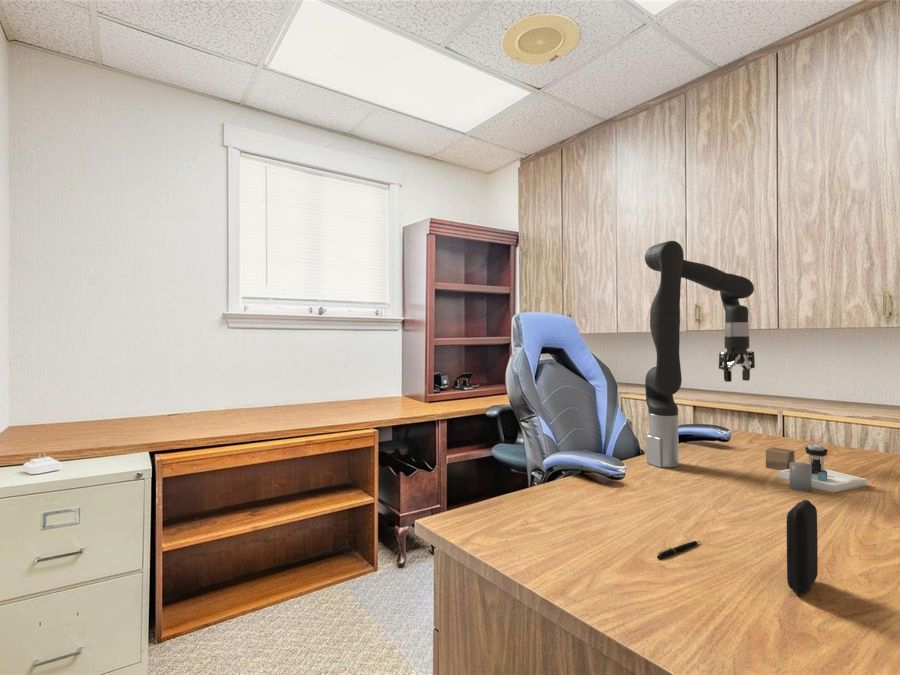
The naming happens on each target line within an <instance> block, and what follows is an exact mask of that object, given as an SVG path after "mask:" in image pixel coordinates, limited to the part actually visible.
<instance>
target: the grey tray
mask: <svg viewBox="0 0 900 675" xmlns="http://www.w3.org/2000/svg"><path fill="white" fill-rule="evenodd" d="M824 469H825V471H827V475H828V476H833V477H827V479H832V480H826V481H820V480H814V479H812V488H814V489H818V490H821V491H824V492H828V493H832V494H834V493H838V492H843V491H849V490H854V489H859V488H860V489H861V488H864V487H867V486H868V484H867V483H868V478H863V477H860V476H855V475H852V474H847V473H844V472H839V471H835V470H831V469H827V468H824ZM777 478H779V479H782V480H785V481H789V482H790V470H789V469H786V470H777ZM833 480H834V481H833Z"/></svg>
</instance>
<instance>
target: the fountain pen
mask: <svg viewBox="0 0 900 675" xmlns="http://www.w3.org/2000/svg"><path fill="white" fill-rule="evenodd" d="M700 542H701V540H693V541H691V542H687V543H684V544H679V545H678V546H675V547H670V546H669V547H667V548H665V549H663V550H660V551H659V552H658V553H657V556H656V558H657V559H658V560H663V559H666V558H669V557H672V556H674V555H677V554H678V553H681V552H683V551H686V550H687V549H691V548H692V547H694V546H696V545H698V544H699V543H700Z"/></svg>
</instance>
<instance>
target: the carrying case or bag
mask: <svg viewBox="0 0 900 675" xmlns="http://www.w3.org/2000/svg"><path fill="white" fill-rule="evenodd" d="M818 551H819V550H818V511H817V507H816V506H815V505H814V504H812V502H811V501H810V500H807V499H803V500H801V501H799V502H797V503H796V504H795V505H794V506H793V507H792V508H790V510H789V511H788V512H787V514H786V580H787V581H786V582H787V585H788V588H790V590H792V592H793V593H794V594H796V595H798V596H799V595H800V596H801V595H802V594H805V593H807V592H809V590H810V589H811V588H812V585H813V584H814V582H816V580H817V577H818V574H819V573H818V571H819V569H818V566H819V565H818V564H819V563H818V562H819V561H818V560H819V559H818V557H819V556H818Z"/></svg>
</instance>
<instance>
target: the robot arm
mask: <svg viewBox="0 0 900 675" xmlns="http://www.w3.org/2000/svg"><path fill="white" fill-rule="evenodd" d="M684 256H685V255H684V250H683V246H682V244H680V243H679V242H678V241H675V240H669V241H663V242H660V243H657V244H655V245H652V246H651V247H649V248H648V249H647V250H646V252H645V254H644V262H645V264H646V265H647V267H649V269H650V270H652V271H656V272H660V281H659V286H658V289H657V292H656V294H655V295H654V298H653V300H652V303H651V305H650V310H649V328H650V333H651V337H652V340H653V343H654V346H655V351H656V366H653V367H652V368H650V369H649V370H648V371H647V373H646V375H645V380H644V381H645V382H644V383H645V384H644V386H645V402H646V406H647V409H648V410H647V411H648V412H647V413H648V435H645V436H646V437H645V438H646V439H645V441H646V444H645V445H646V463H647V464H648V465H652V466H655V467H658V468H677V467H679V466H680V465H679V462H680V461H679V460H680V459H679V458H680V456H679V453H680V452H679V450H680V449H679V408H678V405H677V403H676V402H675V400H674V395H675V394H676V393H677V392H678V391H679V390H680V388H681V386H682V381H683V380H682V378H683V377H682V368H681V359H680V340H681V339H680V338H681V337H680V335H681V332H680V331H681V330H680V328H681V284H682V283H681V282H682V279H685V280H688V281H690V282H694V283H696V284H698V285H701V286H703V287H705V288H707V289H710V290H711V291H712V290H713V291H715V292H719V294H720V295H719V296H720V300H721V303H722V306H723V309H724V317H725V318H724V321H725V324H724V330H723V332H724V348H725V349H726V351H725V352H724V351H720V352H718V353H719V354H718V369H719V370H722V371H723V380H724V382H728V383H729V382H730V383H731V382H732V369H733V368H734V367H735V366H736V365H739V366H741V369H742V371H741V372H742V374H741V375H742V376H741V377H742V381H746V382H747V381H750V379H751V370H752V369H755V368H756V362H755V360H756V359H755V352H754V351H750V350H749V351H748V350H747V349H750V325H749V309H748V306H745V305H742V304H740V301H739V300H741V299H746V298H749V297H750V296H752V294H754V291H755V286H754V283H753V282H752V281H751V280H750V279H749V278H747V277H744V276H741V275H738V274H733V273H730V272H729V273H727V272H724V271H723V270H721V269H719V268H716V267H714V266H712V265H709V264H706V263H700V262H694V261H689V260H686V259H685V257H684Z"/></svg>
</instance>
